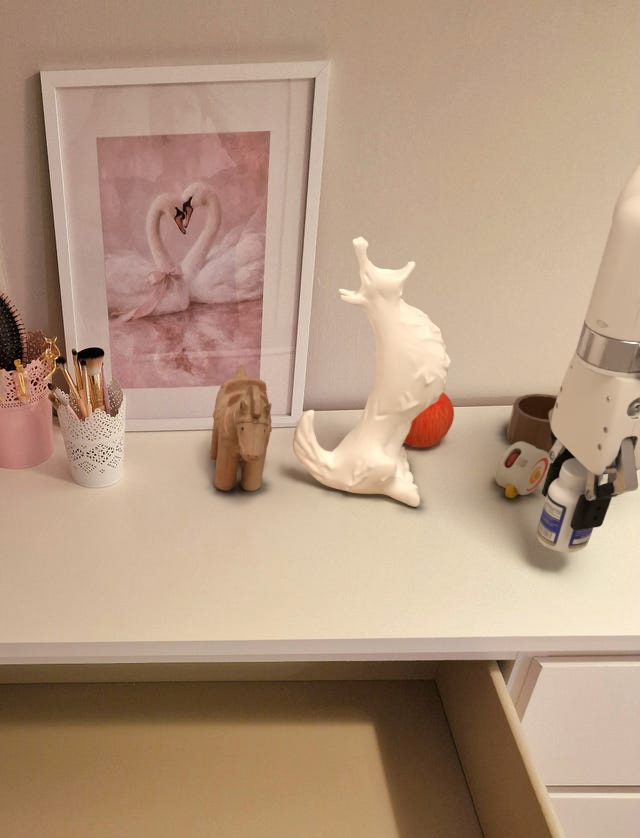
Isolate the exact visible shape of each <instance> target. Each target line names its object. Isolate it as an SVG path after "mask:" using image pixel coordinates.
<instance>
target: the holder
mask: <svg viewBox="0 0 640 838" xmlns="http://www.w3.org/2000/svg"><path fill="white" fill-rule="evenodd" d="M556 400H557V396H556V395H551V394H547V393H546V394H544V393H532V394H524V395H522V396H519V397H517V398H516V400H514V402H513V404H512V408H511V412H510V415H509V419H508V424H507V427H506V434H505V435H506V438H507V440H508V441H509V442H510V444H511V445H513V444H514V443H516V442H520V441H522V442H526V443H528V444H531V445H533V446H535V447H536V448H537V449H540V450H544V451H546V452H547V453H549V452H550V450H551V449H552V441H551V437H550V434H551V431H552V430H551V426H550V421H549V416H548V414H549V411H550V410H551V409H553V408H554V407H555V403H556Z"/></svg>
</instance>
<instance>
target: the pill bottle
mask: <svg viewBox="0 0 640 838" xmlns="http://www.w3.org/2000/svg"><path fill="white" fill-rule="evenodd" d="M587 471H588V469H587V468H586V467H585V466H584V465H583V464H582V463H581V462H580V461H578V459H577V458H572V459H568V460H566V461H565V462H564V463H563V465H562V467H561V470H560V474H559V478H557V479H555V480H554V481H553V482H552V483H551V485H550V487H549V489H548V493H547V496H546V497H545V500H544V504H543V507H542V511H541V513H540V514H541V515H540V518H539V522H538V525H537V530H536V537H537V538H536V539H538V541H539V542H540V544H542V545H543V546H545V548H548V549H550V550H553V551H555V552H560V553H575V552H579V551H581V550H583V549H585V548H586V547H587V546H588V545H589V542H590V539H591V536H592V533H593V530H594V528H588V529H581V530H573V529H572V528H571V527H570V525H571V521H572V518H573V515H574V511H575V508H576V505H577V502H578V499H579V497H580V495H583V494H585V490H586V481H587ZM603 479H604V475H599V483H598V486H599V485H602V481H603Z"/></svg>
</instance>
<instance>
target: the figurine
mask: <svg viewBox="0 0 640 838" xmlns="http://www.w3.org/2000/svg"><path fill="white" fill-rule="evenodd" d="M272 404H273V403H271V402H270V401H269V398H268V393H267V384H266V382H265V381H264V380H262V379H260V378H257V377H251V376H249V375H248V374H247V371H246V368H245V367H244V365H242V364H241V365H238V367H237V368H236V371H235V374H234V377H231V378H228V379H227V380H225V381H224V382H223V383H222V384H220V388H219V389H218V392H217V394H216V398H215V404H214V409H213V413H212V418H213V425H212V434H211V441H210V451H209V452H210V454H209V456H210V460H212V461H215V469H214V477H213V478H214V479H213V481H214V482H213V483H214V485H215V488H216V489H218V490H221V491H228V492H229V491H230V490H231V489H233V488H234V486H235V484H236V481H237V476H238V475H237V474H238V466H239V463H240V462H241V469H240V470H241V473H240V481H241V483H240V487H241V488H242V489H243V490H245V491H248V492H255V491H258V490H259V489H261V486H262V481H263V474H264V468H265V461H266V456H267V451H268V446H269V442H270V437H271V433H272V431H273V428H272V423H273V422H272V415H271V410H272Z"/></svg>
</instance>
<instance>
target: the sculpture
mask: <svg viewBox="0 0 640 838" xmlns="http://www.w3.org/2000/svg"><path fill="white" fill-rule="evenodd" d="M369 246H370V244H369V242H368V240H366V239H365V238H364V237H363V236H359V237H356V238H353V239H352V247H353V249H354V252H355V255H356V257H357V262H358V265H359V271H358V273H359V277H360V282H361V284H360V287H359V288H358V289H357V290H349V289H345V288H339V289H338V292H339V294H341V295H340V300H342V301H344V302H346V303H349V304H351V305H354V306H358V307H359V308H361V309H362V310H363V312H364V313H365V315H366V317H367V319H368V321H369V323H370V327H371V328H372V331H373V334H374V343H375V344H374V351H375V355H374V373H373V379H372V383H371V386H370V390H369V392H368V393H369V394H368V396H367V400H366V403H365V407H364V408H363V411H362V413H361V416H360V418H359V420H358V421H357V422H356V424H355V426H354V427H353V428H352V430H350V431H349V432H348V433H347V434H346V435H345V436H344V438H343V439H342V440H341V442H340V443H339V444H338V445H337V446H336V447H335V448H334V449H333V450H331V451H329V450H326V449H324V448H322V447H321V445H320V444H319V442H318V441H317V437H316V434H315V430H314V429H315V428H314V418H315V410H314V409H309V410H306V411H305V412H303V414H302V415H301V416H300V418H299V419H298V422H297V424H296V425H295V429H294V433H293V440H292V450H293V453H294V455H295V457H296V459H297V460H298V461H299V462H300V464H301V465H302V466H303V467H304V468H305V469H306V470H307V472H308V473H309V474H310V475H311V476H312V477H313V478H314V479H315V480H316V481H317V482H319V483H321V484H323V485H324V486H327V487H328V488H332V489H336V490H339V491H345V492H349V493H352V494H362V495H363V494H364V495H372V494H373V495H376V494H378V495H385V496H388V497H391V498H392V499H394V500H396V501H399V502H401V503H404V504H406V505H408V506H409V507H414V508H417V507H419V506H420V503H421V497H420V495H419V488H418V486H417V485H416V484H415V483H414V482H415V478H414V475H413V473H412V472H411V471H410V463H409V461H408V454H407V452H406V449H405V448H406V447H405V446H403V444H404V443H405V442H404V440H405V438H406V436H407V435H408V433H409V431H410V428H411V424H412V421H413V420H414V419H415V418H416V417H417V416H418V415H419V414H420V413H421V412H422V411H424V410H425V409H426V408H428V407H429V406H430V405H432V404H434V403H435V402H437V401H438V399H439V397H440V395H441V394H442V392H443V393H444V392H445V390H446V388H447V385H448V383H447V382H448V381H447V379H448V373H449V370H450V365H451V363H452V361H451V359H450V356H449V355H448V353H447V351H446V349H447V345H446V343H445V341H444V340H443V338H442V337H443V334H442V331H441V329H440V327H438V326H437V324H435V323H434V322H432V320H431V318H429V315H427V314H426V313H425V312H423V311H422V310H421V309H419V308H417V307H415V306H413V305H410V304H408V303H406V302H405V300H404V299H403V298H401V296H402V295H403V290H404V284H405V283H406V281H407V280H408V278H409V276H410V275H411V274H412V272H413V271H414V270H415V268H416V262H415V261H413V260H412V261H408V262H407V264H405V265H404V267H402V268H400V269H391V268H380V267H377V266H376V265H374V264H373V263H372V261H370V260H369V258H368V254H367V249H368V248H369Z"/></svg>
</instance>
